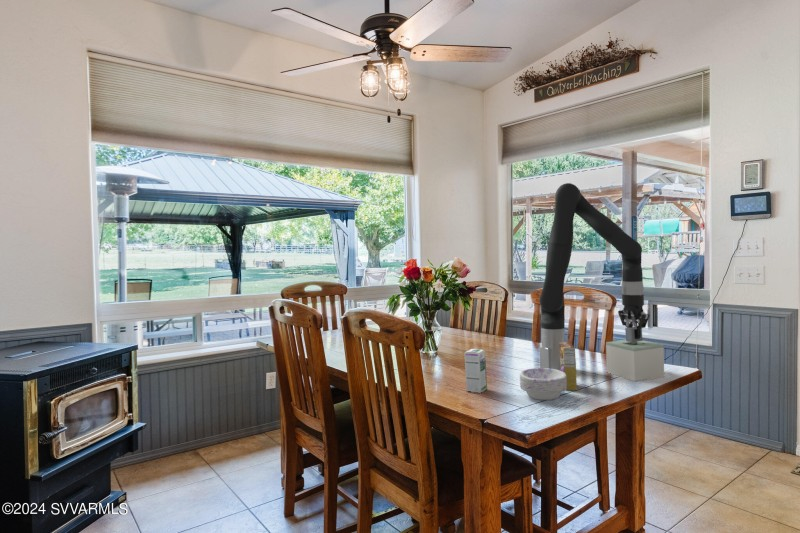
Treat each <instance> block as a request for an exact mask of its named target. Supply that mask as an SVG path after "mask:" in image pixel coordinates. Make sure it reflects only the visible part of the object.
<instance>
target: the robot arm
mask: <svg viewBox="0 0 800 533" xmlns="http://www.w3.org/2000/svg"><path fill="white" fill-rule="evenodd" d="M554 196H555V198H554V199H555V200H554V201H555V202H554V216H553V222H552V225H551V229H550V234H549V239H548V244H547V249H546V257H545V258H546V259H545V260H546V261H545V277H544V283H543V286H542V290H541V293H540V296H539V305H540V338H541V339H540V340H541V341H540V342H541V343H540V344H541V345H539V346H538V348H539V368H550V369H556V370H560V371H561V368H560V350H559V343H565V342H566V331H565V321H566V320H565V318H566V317H565V297H564V287H565V286H564V285H565V279H566V275H567V271H568V269H569V265H570V261H571V256H572V252H573V246H574V245H573V244H574V218H575V214H576V215H577V216H578V217H580V218H581V219H582V220H583V221H584V222H585V223H586V224H587V225H588V226H589V227H590V228H591V229H592V230H593V231H595V232H596V233H597V234H598V235H599V236H600V237H601V238H602V239H604V240H605V241H606V242H607V243H608V244H610V245H612V247H613V248H614V249H616V251H617V252H618V253H620V254H621V260H622V269H621V270H622V271H621V280H622V281H621V282H622V283H621V304H622V306H623V308H622V310H618V311H617V314H618V316H619V319H620V321H621V323H622V324H621V325H622V326H625V328H630V327H634V328H635V329H634V332H635V339H640V337H641V328H642V329H644V328H646V326H647V323H648V321H649V318H650V314H649V313H645V310H644V309H643V306H644V305H645V292H644V289H645V288H644V282H643V277H644V276H643V268H642V253H643V248H642V245H641V244H640V243H639V242H638V241H637V240H636V239H634V238H633V237H631V236H630V235H629V234H628V233H626V232H625V231H624V229H622V228H621V227H620V226H619V225H618V224H617V223H615V222H614V221H613V220H612V219H610V218H609V217H608V216H607V215H605V214H604V213H603V212H601V211H600V210H598V209H597V208H596V207H594V206H593V204H591V203H590V201H588V200H587V198H585V196H584V195H583V194H582V193H581V190H580V189H579V188H578V187H577V186H576V185H575V184H573V183H572V182H567V183H563V184H561V185H559V186H558V188H557V189H556V191H555V194H554Z"/></svg>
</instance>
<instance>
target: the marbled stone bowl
mask: <svg viewBox="0 0 800 533" xmlns="http://www.w3.org/2000/svg"><path fill="white" fill-rule="evenodd" d="M519 388H520V389H521V390H522V391H525V393H526V394H527V396H528V397H530V398H532V399H533V400H538V401H551V400H552V401H553V400H555V399H558V398H559V397H560V396H561V394H562V393H563V392H565V391H567V390H566V389H567V378H566V374H565V373H564V372H562V371H560V370H556V369H550V368H540V367H533V368H527V369H523V370H522V371H521V372H519Z"/></svg>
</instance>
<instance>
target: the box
mask: <svg viewBox="0 0 800 533" xmlns="http://www.w3.org/2000/svg"><path fill="white" fill-rule="evenodd" d="M664 345H665V344H663V343H662V344H661V343H656V342H653V341H652V342H651V341H648V340H643V339H642V341H637V342H628V341H626V339H620V340H613V341H606V342H605V351H606V352H605V354H606V355H605V356H606V373H607V372H608V373H607V374H610V373H611V374H610V375H613V374H614V376H616V375H617V376H616V377H620V378H622V379H625V380H626V379H627V380H629V381H632V382H638V381H646V380H652V379H657V378H663V377H665V357H664V356H665V349H664Z"/></svg>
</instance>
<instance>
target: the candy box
mask: <svg viewBox="0 0 800 533" xmlns="http://www.w3.org/2000/svg"><path fill="white" fill-rule="evenodd" d="M559 350H560V368H561V371H562V372H564V373H565V374H566V378H567V389H566V390H565V391H577V390H578V389H577V388H578V385H577V366H576V348H575V347H574V346H573V344H572V343H571V342H567V341H565V343H559Z"/></svg>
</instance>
